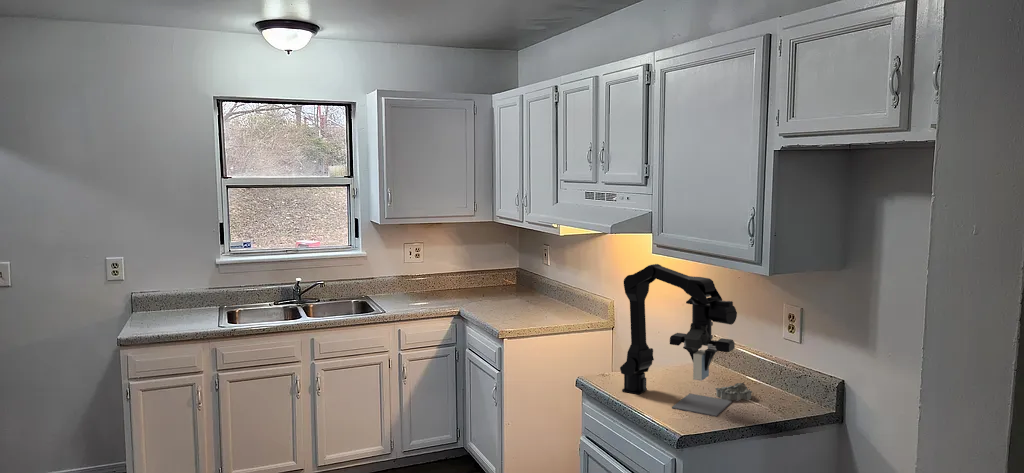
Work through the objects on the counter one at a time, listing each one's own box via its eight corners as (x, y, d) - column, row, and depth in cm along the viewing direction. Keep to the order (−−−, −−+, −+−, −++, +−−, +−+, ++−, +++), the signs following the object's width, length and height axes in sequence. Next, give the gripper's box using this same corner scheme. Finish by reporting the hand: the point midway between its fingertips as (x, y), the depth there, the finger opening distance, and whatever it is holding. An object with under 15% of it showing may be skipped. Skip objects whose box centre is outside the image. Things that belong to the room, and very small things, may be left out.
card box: (693, 379, 217) (693, 353, 216) (700, 374, 222) (700, 349, 221) (701, 380, 215) (702, 355, 214) (708, 376, 220) (709, 350, 219)
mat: (671, 408, 221) (671, 407, 221) (689, 394, 234) (689, 393, 234) (716, 416, 213) (716, 415, 213) (732, 401, 226) (732, 400, 226)
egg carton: (744, 394, 235) (745, 381, 235) (754, 401, 228) (754, 388, 227) (713, 394, 234) (713, 382, 234) (722, 402, 227) (722, 389, 227)
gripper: (662, 320, 216) (662, 371, 217) (722, 328, 205) (722, 380, 206) (676, 314, 225) (676, 363, 226) (735, 321, 214) (734, 371, 215)
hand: (701, 369), depth 218 cm, fingers closed on card box, 3 cm apart
